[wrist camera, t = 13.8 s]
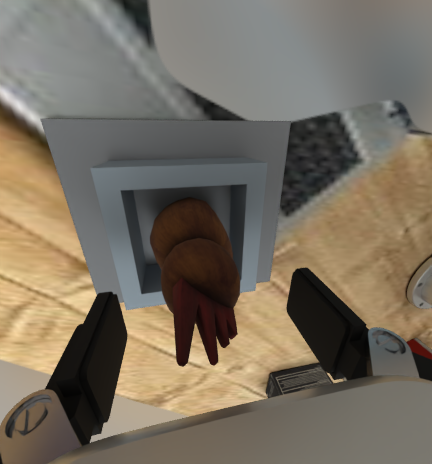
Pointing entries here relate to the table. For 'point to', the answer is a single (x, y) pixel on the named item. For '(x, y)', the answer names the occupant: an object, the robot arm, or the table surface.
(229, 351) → the table surface
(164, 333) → the table surface
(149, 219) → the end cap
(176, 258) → the wooden figurine
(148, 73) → the table surface
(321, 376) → the small box
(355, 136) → the table surface
